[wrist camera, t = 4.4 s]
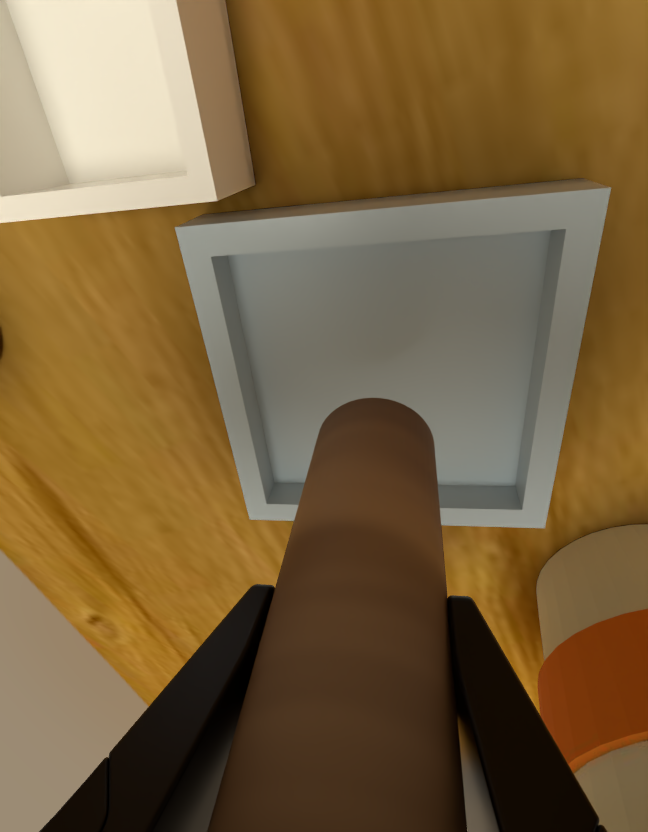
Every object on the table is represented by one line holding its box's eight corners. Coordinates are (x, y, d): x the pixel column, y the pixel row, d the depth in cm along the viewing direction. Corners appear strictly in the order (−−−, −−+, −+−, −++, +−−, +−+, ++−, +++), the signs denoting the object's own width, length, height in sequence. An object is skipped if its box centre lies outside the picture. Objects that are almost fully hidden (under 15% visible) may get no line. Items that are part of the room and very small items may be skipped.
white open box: (206, -118, 13) (134, -204, 9) (255, 184, 16) (217, 200, 13) (-26, -64, 14) (-162, -122, 11) (70, 204, 18) (-8, 223, 14)
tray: (582, 178, 15) (611, 187, 13) (531, 489, 22) (544, 528, 20) (202, 214, 17) (174, 227, 15) (263, 484, 24) (249, 519, 22)
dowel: (433, 493, 13) (468, 974, 6) (323, 491, 14) (226, 926, 6) (435, 396, 12) (487, 895, 4) (311, 398, 12) (160, 839, 5)
